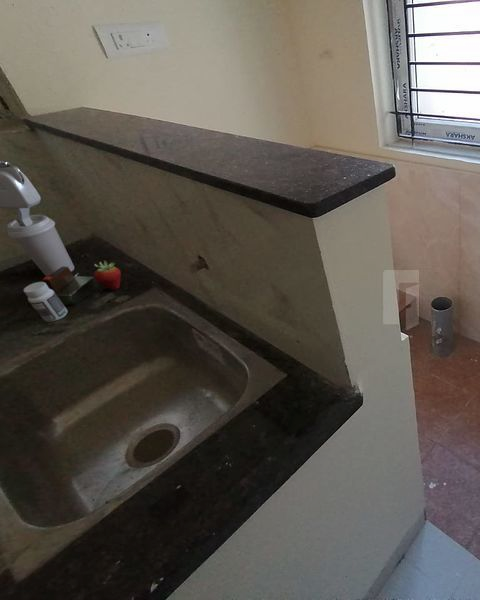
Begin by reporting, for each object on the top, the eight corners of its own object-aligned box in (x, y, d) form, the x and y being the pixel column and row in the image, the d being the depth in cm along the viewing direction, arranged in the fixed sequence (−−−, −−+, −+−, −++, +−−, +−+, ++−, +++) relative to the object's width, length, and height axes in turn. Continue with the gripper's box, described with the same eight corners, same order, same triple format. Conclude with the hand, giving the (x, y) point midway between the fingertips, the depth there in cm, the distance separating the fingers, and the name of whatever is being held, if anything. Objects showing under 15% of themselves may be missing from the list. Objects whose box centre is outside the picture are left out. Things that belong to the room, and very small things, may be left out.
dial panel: (34, 306, 93) (26, 296, 91) (66, 282, 101) (60, 272, 99) (73, 308, 92) (66, 297, 91) (103, 283, 101) (97, 273, 99)
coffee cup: (85, 270, 106) (54, 220, 97) (43, 285, 101) (6, 233, 91) (76, 258, 111) (45, 209, 102) (35, 272, 106) (-1, 222, 97)
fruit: (131, 287, 99) (117, 260, 94) (109, 297, 96) (93, 270, 91) (122, 281, 101) (107, 254, 97) (100, 290, 98) (84, 264, 93)
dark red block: (69, 278, 97) (61, 265, 95) (75, 278, 97) (67, 265, 95) (50, 292, 93) (41, 279, 90) (56, 292, 93) (47, 279, 90)
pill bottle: (66, 307, 93) (45, 278, 88) (70, 316, 90) (49, 286, 85) (42, 316, 90) (19, 286, 85) (45, 325, 88) (22, 295, 82)
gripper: (27, 156, 78) (62, 219, 86) (-67, 154, 79) (-23, 217, 87) (-2, 166, 73) (39, 232, 81) (-101, 163, 74) (-51, 229, 82)
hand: (6, 224), depth 84 cm, fingers open, 8 cm apart
